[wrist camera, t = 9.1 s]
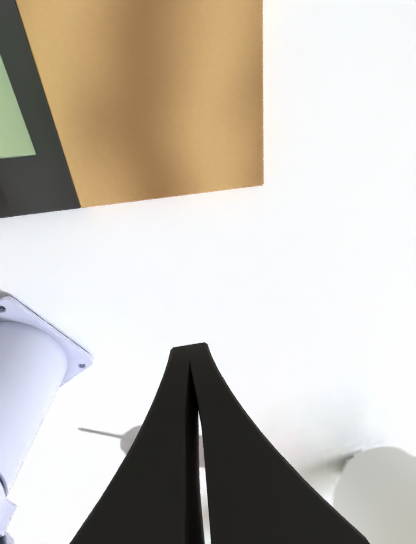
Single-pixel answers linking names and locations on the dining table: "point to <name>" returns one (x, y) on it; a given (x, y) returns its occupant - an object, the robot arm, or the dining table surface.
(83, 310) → the dining table surface
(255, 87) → the board
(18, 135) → the sage block
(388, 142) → the dining table surface
